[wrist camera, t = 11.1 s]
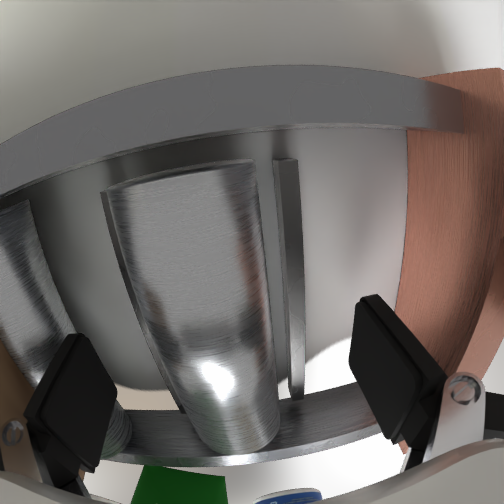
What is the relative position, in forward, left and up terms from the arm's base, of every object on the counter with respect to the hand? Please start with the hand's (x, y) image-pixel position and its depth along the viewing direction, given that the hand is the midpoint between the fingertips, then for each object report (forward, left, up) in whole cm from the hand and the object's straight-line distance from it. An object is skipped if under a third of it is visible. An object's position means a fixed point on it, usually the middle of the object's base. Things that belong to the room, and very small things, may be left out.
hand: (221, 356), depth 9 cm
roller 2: (0, 0, -3) cm, 3 cm away
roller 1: (0, +8, -2) cm, 8 cm away
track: (0, +14, -3) cm, 15 cm away
